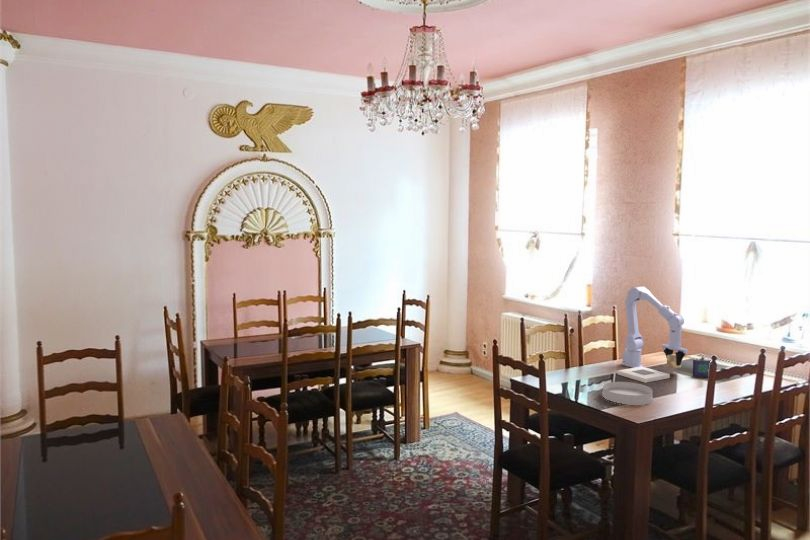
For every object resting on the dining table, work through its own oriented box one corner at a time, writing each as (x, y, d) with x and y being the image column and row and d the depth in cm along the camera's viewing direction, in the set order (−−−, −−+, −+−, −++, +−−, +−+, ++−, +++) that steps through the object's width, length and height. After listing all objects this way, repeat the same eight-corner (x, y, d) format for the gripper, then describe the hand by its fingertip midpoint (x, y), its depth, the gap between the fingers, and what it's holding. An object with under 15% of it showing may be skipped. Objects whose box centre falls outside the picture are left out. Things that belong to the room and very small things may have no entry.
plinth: (617, 374, 337) (617, 370, 336) (641, 370, 345) (641, 366, 345) (645, 382, 321) (645, 378, 321) (669, 378, 329) (669, 373, 329)
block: (666, 366, 337) (667, 355, 337) (673, 365, 340) (673, 354, 339) (674, 368, 333) (675, 357, 332) (681, 367, 335) (681, 356, 335)
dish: (612, 389, 311) (613, 379, 310) (659, 397, 297) (659, 387, 296) (594, 399, 294) (594, 389, 293) (642, 409, 280) (643, 398, 279)
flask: (709, 375, 334) (710, 355, 332) (712, 377, 331) (713, 357, 329) (691, 375, 334) (692, 355, 333) (693, 377, 331) (694, 356, 330)
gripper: (658, 336, 339) (657, 361, 341) (681, 342, 327) (680, 368, 328) (667, 335, 343) (666, 360, 344) (691, 340, 330) (689, 366, 331)
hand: (673, 364), depth 336 cm, fingers closed on block, 5 cm apart
